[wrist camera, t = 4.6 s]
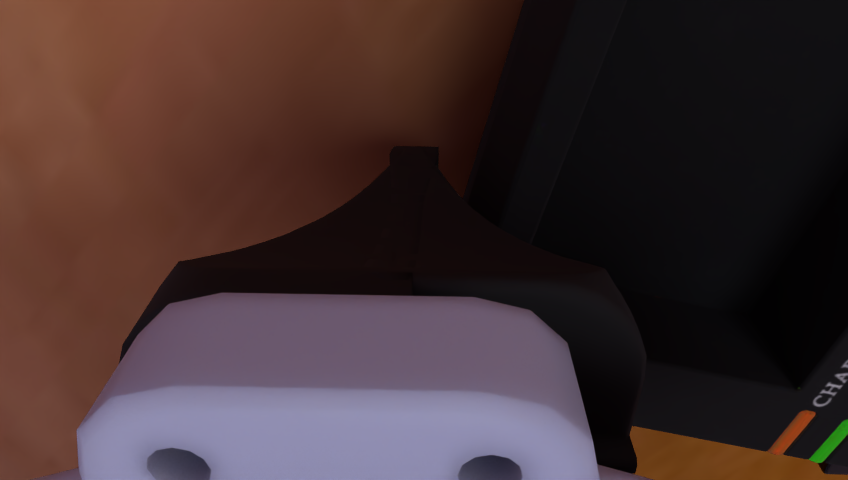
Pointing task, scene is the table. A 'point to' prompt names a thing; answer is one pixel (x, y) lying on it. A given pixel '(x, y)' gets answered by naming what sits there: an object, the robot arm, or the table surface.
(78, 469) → the robot arm
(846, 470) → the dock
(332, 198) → the table surface
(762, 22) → the battery charger
